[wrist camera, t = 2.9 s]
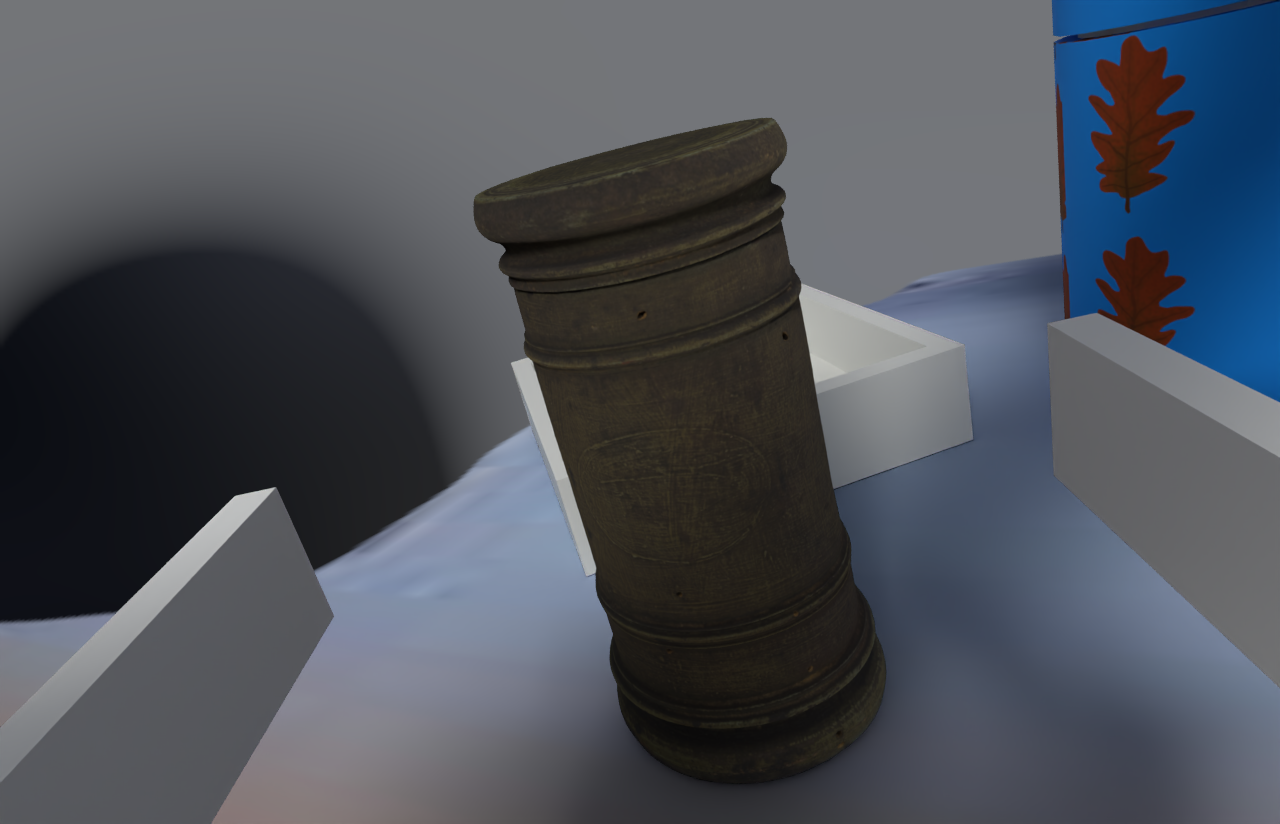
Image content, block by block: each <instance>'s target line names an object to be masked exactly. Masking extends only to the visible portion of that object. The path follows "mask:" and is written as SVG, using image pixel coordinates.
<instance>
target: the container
mask: <svg viewBox="0 0 1280 824" xmlns="http://www.w3.org/2000/svg"><path fill="white" fill-rule="evenodd" d="M786 152H787V142H786V139H785V136H784V134H783V132H782V130H781V128H780V127H779V125H778V124H777V122H776V121H775V120H774V119H772V118H758V119H751V120H744V121H739V122H733V123H728V124H723V125H718V126H713V127H708V128H703V129H699V130H695V131H689V132H685V133H680V134H676V135H671V136H667V137H663V138H659V139H654V140H650V141H646V142H642V143H638V144H635V145H630V146H626V147H623V148H619V149H615V150H611V151H607V152H603V153H600V154H596V155H593V156H589V157H585V158H581V159H578V160H574V161H570V162H567V163H563V164H560V165H556V166H553V167H549V168H546V169H543V170H540V171H537V172H534V173H531V174H528V175H525V176H522V177H519V178H516V179H513V180H510V181H507V182H505V183H501V184H499V185H497V186H494V187H492V188H490V189H487V190H485V191H483V192H481V193H479V194H478V195H476V196H475V199H474V220H475V224H476V226H477V229H478V230H479V232H480V233H481V234H482V235H483V236H484V237H486V238H487V239H488V240H490V241H493V242H495V243H499V244H501V245H503V246H504V248H505V249H506V251H505V253H504V254H503V255H502V257H501V258H500V261H499V268H500V270H501V271H502V273H504V274H505V275H508V276H509V283H510V285H511V286H512V287H514V290H515V295H516V298H517V302H518V305H519V309H520V312H521V315H522V319H523V322H524V327H525V333H524V336H525V342H524V350H525V354H526V355H527V356H528V358H529V359H530V360H532V362H533V365H534V368H535V371H536V375H537V379H538V382H539V385H540V388H541V392H542V395H543V398H544V401H545V405H546V408H547V412H548V415H549V418H550V421H551V424H552V428H553V431H554V435H555V438H556V441H557V444H558V447H559V450H560V453H561V456H562V460H563V462H564V466H565V469H566V472H567V475H568V478H569V481H570V484H571V488H572V491H573V495H574V498H575V501H576V504H577V508H578V510H579V514H580V517H581V520H582V523H583V527H584V530H585V533H586V536H587V539H588V543H589V546H590V549H591V552H592V556H593V560H594V562H595V565H596V591H597V596H598V598H599V601H600V603H601V605H602V607H603V608H604V610H605V612H606V614H607V617H608V620H609V623H610V626H611V629H612V632H613V637H612V641H611V646H610V665H611V670H612V673H613V676H614V678H615V681H616V683H617V692H618V699H619V705H620V709H621V712H622V715H623V718H624V720H625V722H626V724H627V726H628V728H629V729H630V731H631V732H632V734H633V735H634V736H635V738H636V739H637V740H638V741H639V743H640V744H641V745H642V746H643V747H644V749H645V750H646V751H647V752H649V753H650V754H651V755H652V756H653V757H654V758H655V759H657V760H658V761H660V762H662V763H663V764H664V765H666V766H668V767H670V768H671V769H673V770H675V771H677V772H680V773H683V774H685V775H688V776H692V777H695V778H698V779H702V780H708V781H714V782H723V783H756V782H764V781H770V780H775V779H780V778H783V777H788V776H792V775H795V774H798V773H801V772H803V771H806V770H808V769H810V768H812V767H814V766H816V765H818V764H821V763H823V762H825V761H826V760H828V759H830V758H832V757H833V756H835V755H836V754H838V753H839V752H840V751H842V750H843V749H845V748H846V747H847V746H849V745H850V744H851V743H852V742H854V741H855V740H856V739H857V738H858V737H859V736H860V735H861V734H862V733H863V732H864V731H865V730H866V729H867V727H868V726H869V725H870V723H871V722H872V720H873V718H874V717H875V715H876V713H877V711H878V709H879V707H880V704H881V701H882V697H883V693H884V687H885V680H886V664H885V658H884V653H883V650H882V647H881V644H880V642H879V639H878V637H877V635H876V633H875V622H874V617H873V615H872V611H871V608H870V606H869V604H868V602H867V600H866V598H865V597H864V595H863V594H862V592H861V591H860V590H859V589H858V588H857V586H856V585H855V583H854V578H853V572H852V568H851V543H850V539H849V536H848V533H847V531H846V528H845V526H844V525H843V522H842V521H841V519H840V517H839V512H838V507H837V503H836V498H835V493H834V489H833V485H832V480H831V474H830V468H829V462H828V457H827V451H826V445H825V439H824V434H823V428H822V423H821V418H820V412H819V407H818V401H817V394H816V388H815V382H814V376H813V369H812V363H811V358H810V352H809V346H808V341H807V335H806V330H805V325H804V319H803V314H802V309H801V303H800V299H799V295H800V292H801V287H802V286H801V281H800V279H799V277H798V276H797V274H796V273H795V269H794V268H793V266H792V265H790V261H789V256H788V250H787V245H786V241H785V235H784V231H783V226H782V222H781V220H782V218H783V216H784V211H783V209H782V207H781V205H782V204H783V203H784V201H785V199H786V194H785V191H784V190H783V189H782V188H781V187H780V186H778V185H776V184H773V183H772V182H771V176H772V174H773V172H774V171H775V170H776V169H777V168H778V167H779V166H780V165H781V164H782V162H783V160H784V158H785V156H786Z"/></svg>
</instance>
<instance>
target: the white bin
mask: <svg viewBox="0 0 1280 824" xmlns="http://www.w3.org/2000/svg"><path fill="white" fill-rule="evenodd" d="M801 286H802V287H801V292H800V295H799V299H800V303H801V309H802V314H803V319H804V325H805V330H806V335H807V341H808V346H809V352H810V358H811V363H812V369H813V376H814V382H815V388H816V394H817V401H818V407H819V412H820V418H821V423H822V428H823V434H824V439H825V445H826V451H827V457H828V462H829V468H830V474H831V480H832V485H833V489H835V488H838V487H841V486H844V485H846V484H849V483H852V482H855V481H858V480H861V479H863V478H866V477H869V476H872V475H875V474H877V473H880V472H883V471H886V470H889V469H892V468H894V467H897V466H900V465H903V464H906V463H909V462H911V461H914V460H917V459H920V458H923V457H925V456H928V455H931V454H934V453H937V452H940V451H942V450H945V449H948V448H951V447H954V446H957V445H959V444H962V443H965V442H968V441H971V440H973V431H972V420H971V409H970V398H969V387H968V376H967V365H966V354H965V345H964V344H961V343H958V342H956V341H953V340H950V339H948V338H945V337H942V336H940V335H937V334H934V333H932V332H929V331H926V330H924V329H921V328H918V327H916V326H913V325H910V324H908V323H905V322H902V321H900V320H897V319H895V318H892V317H889V316H887V315H884V314H881V313H879V312H876V311H873V310H871V309H868V308H865V307H863V306H860V305H857V304H855V303H852V302H849V301H846V300H844V299H841V298H839V297H836V296H833V295H830V294H828V293H825V292H823V291H820V290H817V289H815V288H812V287H809V286H806V285H804V284H801ZM511 364H512V368H513V371H514V374H515V377H516V380H517V383H518V386H519V390H520V393H521V396H522V399H523V402H524V405H525V409H526V411H527V415H528V418H529V421H530V424H531V427H532V431H533V433H534V436H535V439H536V441H537V444H538V447H539V449H540V452H541V455H542V458H543V460H544V463H545V466H546V468H547V471H548V474H549V477H550V479H551V482H552V485H553V487H554V490H555V493H556V496H557V498H558V501H559V504H560V506H561V509H562V512H563V514H564V517H565V520H566V523H567V525H568V528H569V531H570V533H571V536H572V539H573V542H574V544H575V547H576V550H577V552H578V555H579V558H580V561H581V563H582V566H583V569H584V571H585V574H586V577H587V576H589V575H592V574H595V573H596V565H595V562H594V560H593V556H592V552H591V549H590V546H589V543H588V539H587V536H586V533H585V530H584V527H583V523H582V520H581V517H580V514H579V510H578V508H577V504H576V501H575V498H574V495H573V491H572V488H571V484H570V481H569V478H568V475H567V472H566V469H565V466H564V462H563V460H562V456H561V453H560V450H559V447H558V444H557V441H556V438H555V435H554V431H553V428H552V424H551V421H550V418H549V415H548V412H547V408H546V405H545V401H544V398H543V395H542V392H541V388H540V385H539V382H538V379H537V375H536V371H535V368H534V365H533V362H532V360H530V359H529V358H525V359H522V360H519V361H516V362H512V363H511Z"/></svg>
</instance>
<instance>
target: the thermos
mask: <svg viewBox="0 0 1280 824" xmlns="http://www.w3.org/2000/svg"><path fill="white" fill-rule="evenodd" d="M1052 13H1053V35H1054V36H1067V37H1064V38H1062V39H1060V40H1057V41H1055V42H1054V64H1055V89H1056V113H1057V137H1058V163H1059V185H1060V186H1059V188H1060V213H1061V234H1062V235H1061V237H1062V262H1063V287H1064V312H1065V319H1070V318H1075V317H1079V316H1084V315H1089V314H1093V313H1098V314H1100V315H1102V316H1104V317H1106V318H1109V319H1111V320H1113V321H1115V322H1117V323H1119V324H1121V325H1123V326H1125V327H1127V328H1129V329H1131V330H1133V331H1135V332H1137V333H1139V334H1141V335H1143V336H1145V337H1147V338H1149V339H1151V340H1153V341H1155V342H1157V343H1159V344H1162V345H1164V346H1166V347H1168V348H1170V349H1172V350H1174V351H1176V352H1178V353H1180V354H1182V355H1184V356H1186V357H1188V358H1190V359H1192V360H1194V361H1196V362H1198V363H1200V364H1202V365H1204V366H1206V367H1208V368H1210V369H1212V370H1215V371H1217V372H1219V373H1221V374H1223V375H1225V376H1227V377H1229V378H1231V379H1233V380H1235V381H1237V382H1239V383H1241V384H1243V385H1245V386H1247V387H1249V388H1251V389H1253V390H1255V391H1257V392H1259V393H1261V394H1263V395H1265V396H1267V397H1270V398H1272V399H1274V400H1276V401H1278V402H1280V0H1052ZM1068 35H1070V36H1068Z"/></svg>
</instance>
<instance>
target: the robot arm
mask: <svg viewBox="0 0 1280 824" xmlns="http://www.w3.org/2000/svg"><path fill="white" fill-rule="evenodd" d="M1047 327H1048V351H1049V374H1050V398H1051V421H1052V445H1053V468H1054V476H1055V477H1056V478H1057V479H1058V480H1059V481H1060V482H1061V483H1063V484H1064V485H1065V486H1066V487H1067V488H1068V489H1069V490H1070V491H1071V492H1072V493H1073V494H1074V495H1075V496H1076V497H1077V498H1078V499H1080V500H1081V501H1082V502H1083V503H1084V504H1085V505H1086V506H1087V507H1088V508H1089V509H1090V510H1091V511H1092V512H1093V513H1094V514H1095V515H1097V516H1098V517H1099V518H1100V519H1101V520H1102V521H1103V522H1104V523H1105V524H1106V525H1107V526H1108V527H1109V528H1110V529H1111V530H1112V531H1114V532H1115V533H1116V534H1117V535H1118V536H1119V537H1120V538H1121V539H1122V540H1123V541H1124V542H1125V543H1126V544H1127V545H1128V546H1129V547H1131V548H1132V549H1133V550H1134V551H1135V552H1136V553H1137V554H1138V555H1139V556H1140V557H1141V558H1142V559H1143V560H1144V561H1145V562H1146V563H1148V564H1149V565H1150V566H1151V567H1152V568H1153V569H1154V570H1155V571H1156V572H1157V573H1158V574H1159V575H1160V576H1161V577H1162V578H1164V579H1165V580H1166V581H1167V582H1168V583H1169V584H1170V585H1171V586H1172V587H1173V588H1174V589H1175V590H1176V591H1177V592H1178V593H1179V594H1181V595H1182V596H1183V597H1184V598H1185V599H1186V600H1187V601H1188V602H1189V603H1190V604H1191V605H1192V606H1193V607H1194V608H1195V609H1196V610H1198V611H1199V612H1200V613H1201V614H1202V615H1203V616H1204V617H1205V618H1206V619H1207V620H1208V621H1209V622H1210V623H1211V624H1212V625H1213V626H1215V627H1216V628H1217V629H1218V630H1219V631H1220V632H1221V633H1222V634H1223V635H1224V636H1225V637H1226V638H1227V639H1228V640H1229V641H1230V642H1232V643H1233V644H1234V645H1235V646H1236V647H1237V648H1238V649H1239V650H1240V651H1241V652H1242V653H1243V654H1244V655H1245V656H1246V657H1247V658H1249V659H1250V660H1251V661H1252V662H1253V663H1254V664H1255V665H1256V666H1257V667H1258V668H1259V669H1260V670H1261V671H1262V672H1263V673H1264V674H1266V675H1267V676H1268V677H1269V678H1270V679H1271V680H1272V681H1273V682H1274V683H1275V684H1276V685H1277V686H1278V687H1279V688H1280V402H1278V401H1276V400H1274V399H1272V398H1270V397H1267V396H1265V395H1263V394H1261V393H1259V392H1257V391H1255V390H1253V389H1251V388H1249V387H1247V386H1245V385H1243V384H1241V383H1239V382H1237V381H1235V380H1233V379H1231V378H1229V377H1227V376H1225V375H1223V374H1221V373H1219V372H1217V371H1215V370H1212V369H1210V368H1208V367H1206V366H1204V365H1202V364H1200V363H1198V362H1196V361H1194V360H1192V359H1190V358H1188V357H1186V356H1184V355H1182V354H1180V353H1178V352H1176V351H1174V350H1172V349H1170V348H1168V347H1166V346H1164V345H1162V344H1159V343H1157V342H1155V341H1153V340H1151V339H1149V338H1147V337H1145V336H1143V335H1141V334H1139V333H1137V332H1135V331H1133V330H1131V329H1129V328H1127V327H1125V326H1123V325H1121V324H1119V323H1117V322H1115V321H1113V320H1111V319H1109V318H1106V317H1104V316H1102V315H1100V314H1098V313H1093V314H1089V315H1084V316H1079V317H1075V318H1070V319H1065V320H1060V321H1056V322H1051V323H1047ZM333 617H334V615H333V613H332V610H331V608H330V606H329V604H328V602H327V599H326V597H325V595H324V593H323V590H322V588H321V586H320V584H319V582H318V579H317V577H316V575H315V573H314V570H313V568H312V566H311V564H310V562H309V559H308V557H307V555H306V553H305V550H304V548H303V546H302V544H301V542H300V539H299V537H298V535H297V533H296V531H295V528H294V526H293V524H292V522H291V519H290V517H289V515H288V513H287V510H286V508H285V506H284V504H283V502H282V500H281V497H280V495H279V493H278V491H277V488H271V489H266V490H262V491H257V492H252V493H247V494H243V495H238V496H235V497H234V498H233V499H232V500H231V501H230V502H229V503H228V504H227V505H226V506H225V507H224V508H223V509H222V510H221V511H220V512H219V513H218V514H216V515H215V516H214V517H213V519H211V520H210V521H209V522H208V523H207V524H206V525H205V526H204V527H203V528H202V529H201V530H200V531H199V532H198V533H197V534H196V535H195V536H194V538H192V539H191V540H190V541H189V542H188V543H187V544H186V545H185V546H184V547H183V548H182V549H181V550H180V551H179V552H178V553H177V554H176V555H175V556H174V557H173V558H172V559H171V560H170V561H169V562H168V563H167V564H166V565H165V566H164V567H163V568H162V569H161V570H160V571H159V572H158V573H157V574H156V575H155V576H154V577H153V578H152V579H151V580H150V581H149V582H148V583H147V584H146V585H144V586H143V588H141V590H139V591H138V592H137V593H136V594H135V595H134V596H133V597H132V598H131V599H130V600H129V601H128V602H127V603H126V604H125V605H124V606H123V607H122V608H121V609H120V610H119V611H118V612H117V613H116V614H115V615H114V616H113V617H112V618H111V619H110V620H109V621H108V622H107V623H106V624H105V625H104V626H103V627H102V628H101V629H100V630H99V631H98V632H97V633H96V634H95V635H94V636H93V637H92V638H91V639H90V640H89V641H88V642H87V643H86V644H85V645H84V646H83V647H82V648H81V649H80V650H79V651H78V652H76V653H75V654H74V655H73V656H72V657H71V658H70V659H69V660H68V661H67V662H66V663H65V664H64V665H63V666H62V667H61V668H60V669H59V670H58V671H57V672H56V673H55V674H54V675H53V676H52V677H51V678H50V679H49V680H48V681H47V682H46V683H45V684H44V685H43V686H42V687H41V688H40V689H39V690H38V691H37V692H36V693H35V694H34V695H33V696H32V697H31V698H30V699H29V700H28V701H27V702H26V703H25V704H24V705H23V706H22V707H21V708H20V709H19V710H18V711H17V712H16V713H15V714H14V715H13V716H12V717H11V718H10V719H9V720H8V721H7V722H5V723H4V724H3V725H2V726H1V727H0V824H211V823H212V821H213V819H214V818H215V816H216V814H217V812H218V811H219V809H220V807H221V806H222V804H223V802H224V801H225V799H226V797H227V796H228V794H229V792H230V791H231V789H232V787H233V786H234V784H235V782H236V780H237V779H238V777H239V775H240V774H241V772H242V770H243V769H244V767H245V765H246V764H247V762H248V760H249V759H250V757H251V755H252V754H253V752H254V750H255V748H256V747H257V745H258V743H259V742H260V740H261V738H262V737H263V735H264V733H265V732H266V730H267V728H268V727H269V725H270V723H271V722H272V720H273V718H274V716H275V715H276V713H277V711H278V710H279V708H280V706H281V705H282V703H283V701H284V700H285V698H286V696H287V695H288V693H289V691H290V690H291V688H292V686H293V684H294V683H295V681H296V679H297V678H298V676H299V674H300V673H301V671H302V669H303V668H304V666H305V664H306V663H307V661H308V659H309V658H310V656H311V654H312V652H313V651H314V649H315V647H316V646H317V644H318V642H319V641H320V639H321V637H322V636H323V634H324V632H325V631H326V629H327V627H328V626H329V624H330V622H331V620H332V619H333Z"/></svg>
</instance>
